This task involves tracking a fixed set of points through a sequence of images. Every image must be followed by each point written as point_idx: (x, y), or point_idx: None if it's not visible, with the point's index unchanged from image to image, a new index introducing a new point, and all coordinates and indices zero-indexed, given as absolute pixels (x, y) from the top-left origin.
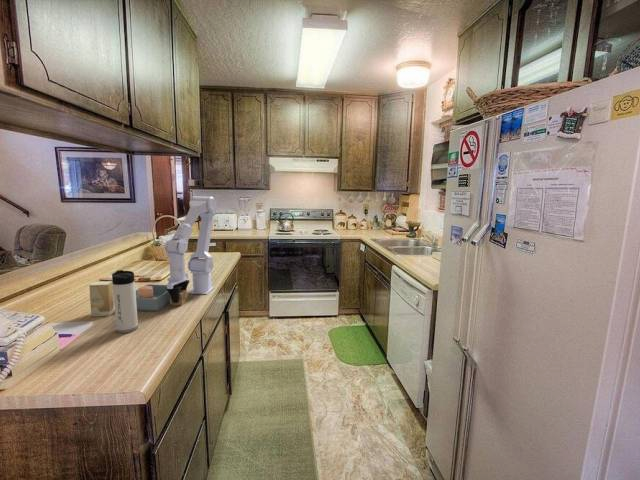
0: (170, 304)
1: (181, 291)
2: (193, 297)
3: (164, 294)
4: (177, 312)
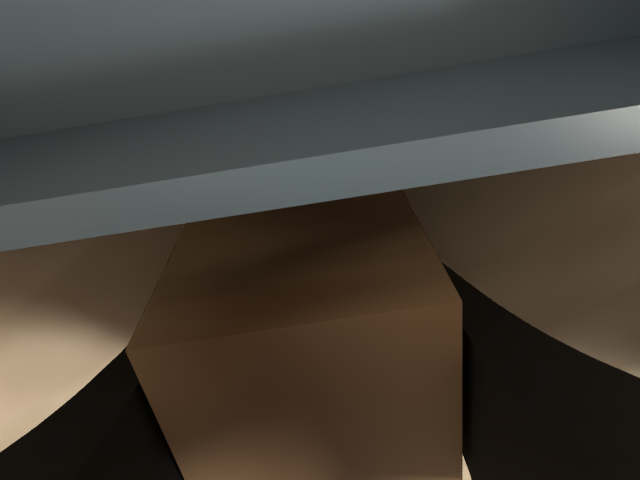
0: (192, 222)
1: (352, 473)
2: (563, 330)
3: (59, 233)
4: (38, 420)
